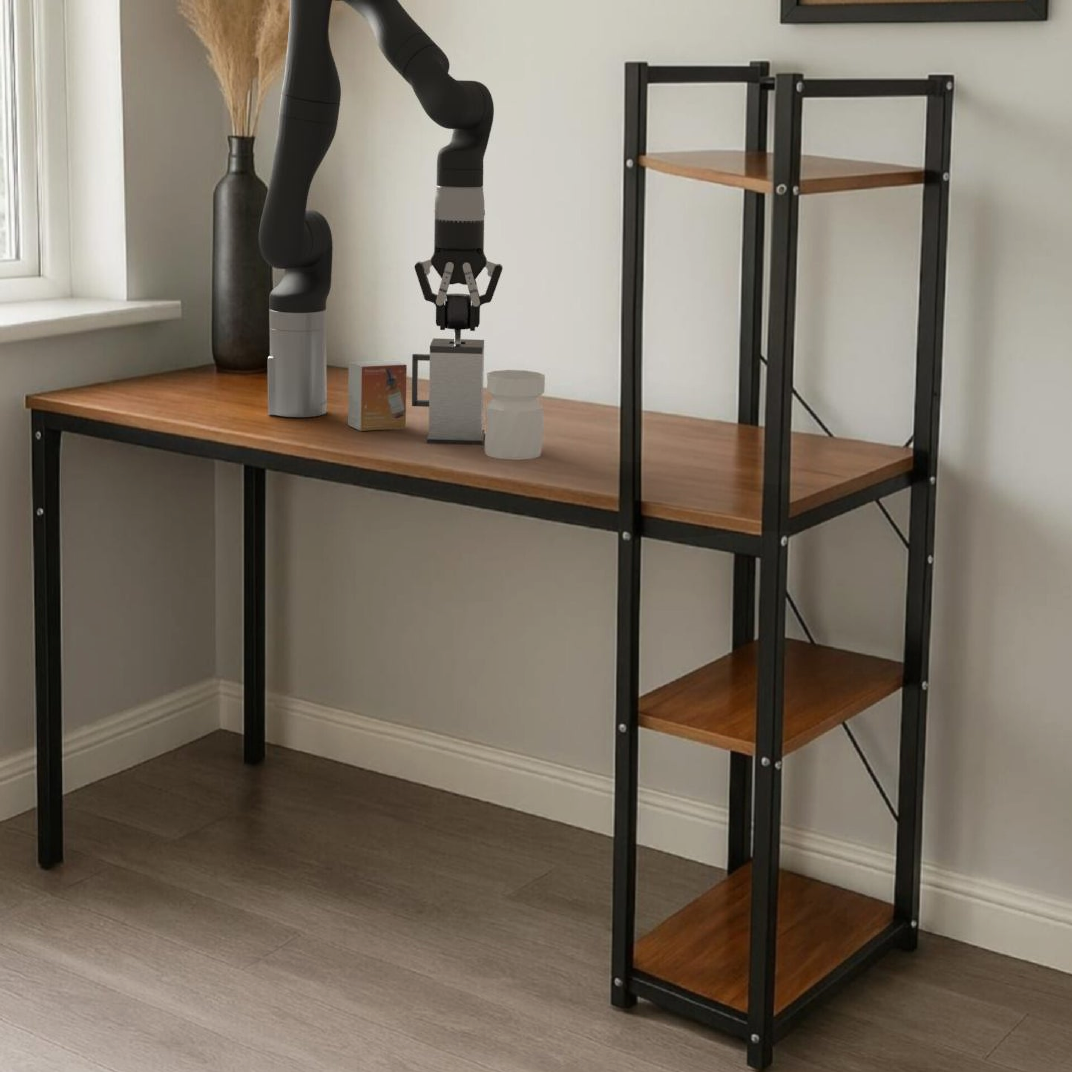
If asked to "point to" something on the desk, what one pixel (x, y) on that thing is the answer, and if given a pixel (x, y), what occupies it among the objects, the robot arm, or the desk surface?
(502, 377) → the white plastic jar
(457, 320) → the plunger
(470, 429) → the press carafe
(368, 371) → the small box
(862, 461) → the desk surface
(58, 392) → the desk surface
